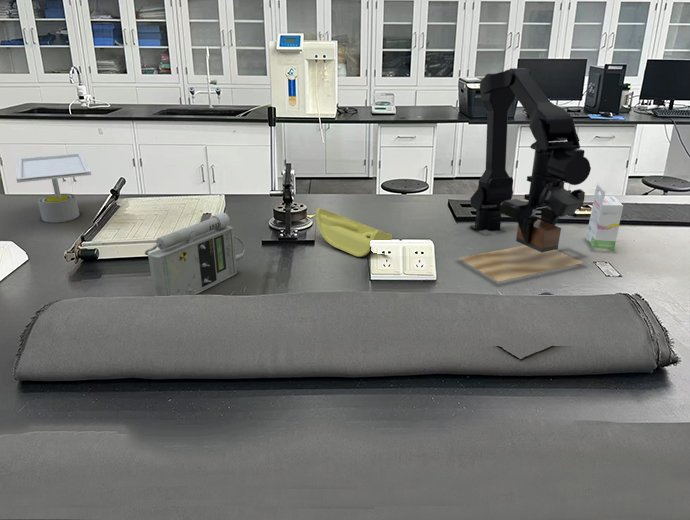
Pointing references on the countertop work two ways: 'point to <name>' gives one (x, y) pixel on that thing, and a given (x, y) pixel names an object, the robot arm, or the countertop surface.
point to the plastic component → (348, 233)
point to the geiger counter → (194, 257)
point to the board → (518, 262)
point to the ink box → (604, 220)
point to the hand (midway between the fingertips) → (535, 241)
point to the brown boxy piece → (542, 236)
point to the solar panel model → (54, 182)
